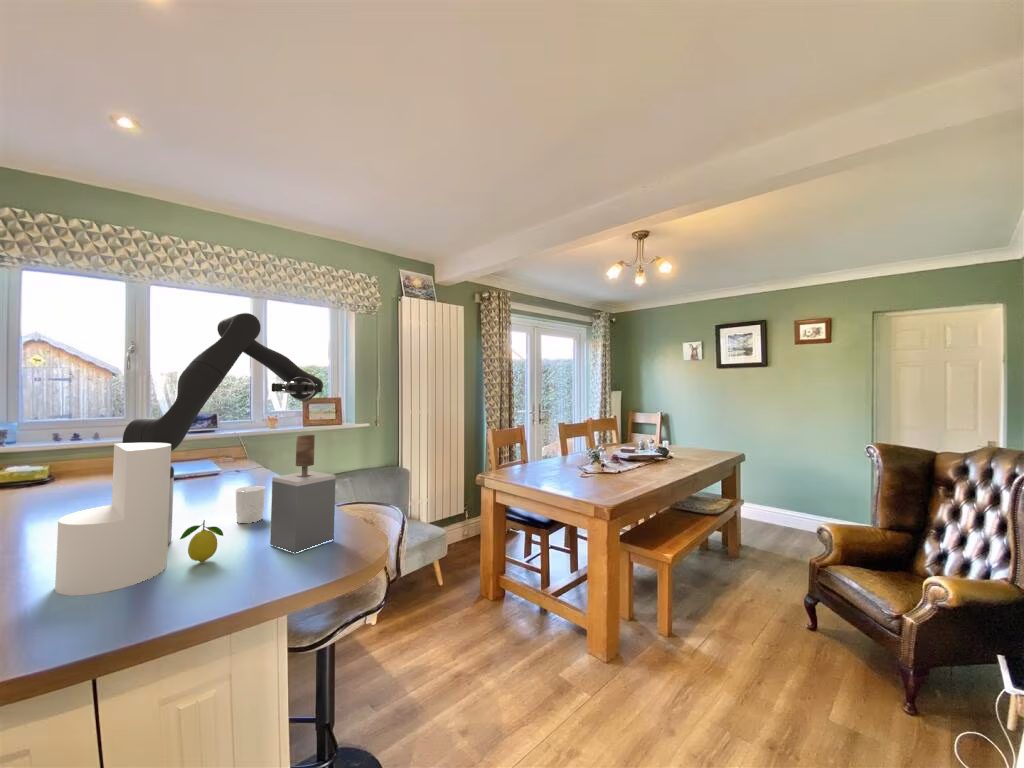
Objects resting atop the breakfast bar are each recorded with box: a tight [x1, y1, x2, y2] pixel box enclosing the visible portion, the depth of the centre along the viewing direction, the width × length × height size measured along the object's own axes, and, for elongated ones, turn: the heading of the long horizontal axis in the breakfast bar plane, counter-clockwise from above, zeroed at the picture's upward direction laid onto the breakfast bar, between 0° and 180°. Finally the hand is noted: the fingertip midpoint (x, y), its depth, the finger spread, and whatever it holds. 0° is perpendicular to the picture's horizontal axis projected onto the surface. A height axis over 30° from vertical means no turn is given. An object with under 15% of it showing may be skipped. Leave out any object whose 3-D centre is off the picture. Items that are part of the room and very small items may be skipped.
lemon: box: [179, 519, 224, 564], centre depth 96 cm, size 7×6×10 cm
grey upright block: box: [269, 470, 337, 553], centre depth 109 cm, size 11×11×18 cm
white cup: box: [235, 485, 266, 524], centre depth 128 cm, size 8×8×10 cm
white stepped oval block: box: [54, 442, 172, 597], centre depth 89 cm, size 17×17×28 cm
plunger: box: [295, 434, 316, 478], centre depth 109 cm, size 8×8×27 cm
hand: (294, 387), depth 124 cm, fingers open, 8 cm apart
